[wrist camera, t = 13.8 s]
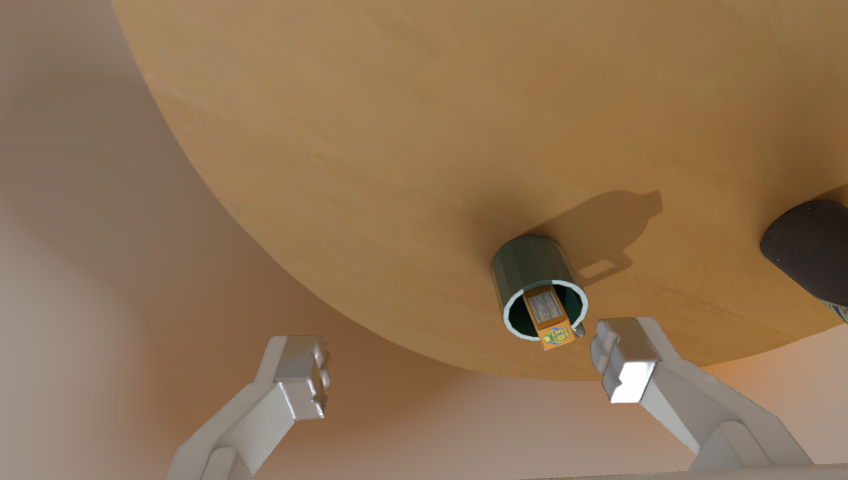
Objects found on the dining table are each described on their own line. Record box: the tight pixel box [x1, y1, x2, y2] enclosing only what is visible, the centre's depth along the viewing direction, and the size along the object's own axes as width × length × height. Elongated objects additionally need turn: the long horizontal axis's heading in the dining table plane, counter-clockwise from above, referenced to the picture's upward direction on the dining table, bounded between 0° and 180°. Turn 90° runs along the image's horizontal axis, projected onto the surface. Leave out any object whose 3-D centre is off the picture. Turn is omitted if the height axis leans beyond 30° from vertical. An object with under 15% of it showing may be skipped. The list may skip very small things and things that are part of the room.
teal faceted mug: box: [491, 235, 589, 341], centre depth 44 cm, size 12×8×8 cm
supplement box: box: [522, 285, 575, 350], centre depth 42 cm, size 3×3×10 cm
